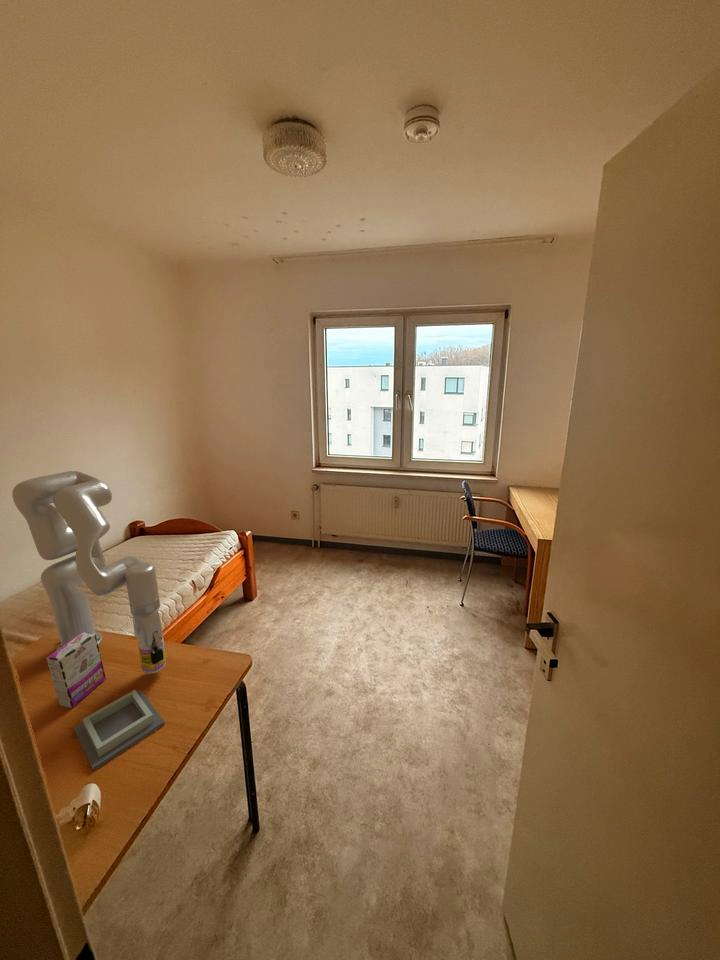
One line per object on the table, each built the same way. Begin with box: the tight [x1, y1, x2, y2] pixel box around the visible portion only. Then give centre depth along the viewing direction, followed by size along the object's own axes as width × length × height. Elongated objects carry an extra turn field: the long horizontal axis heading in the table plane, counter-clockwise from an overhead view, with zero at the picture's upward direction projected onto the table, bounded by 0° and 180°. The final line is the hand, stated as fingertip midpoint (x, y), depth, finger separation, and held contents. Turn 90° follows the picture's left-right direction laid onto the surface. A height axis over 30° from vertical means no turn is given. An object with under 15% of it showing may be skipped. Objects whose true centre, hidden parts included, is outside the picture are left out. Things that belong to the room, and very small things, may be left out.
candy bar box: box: [45, 632, 107, 709], centre depth 106 cm, size 11×5×16 cm, turn 168°
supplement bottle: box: [137, 638, 167, 675], centre depth 113 cm, size 7×7×13 cm
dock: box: [73, 689, 165, 772], centre depth 96 cm, size 16×16×4 cm
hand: (152, 655), depth 113 cm, fingers closed on supplement bottle, 6 cm apart
